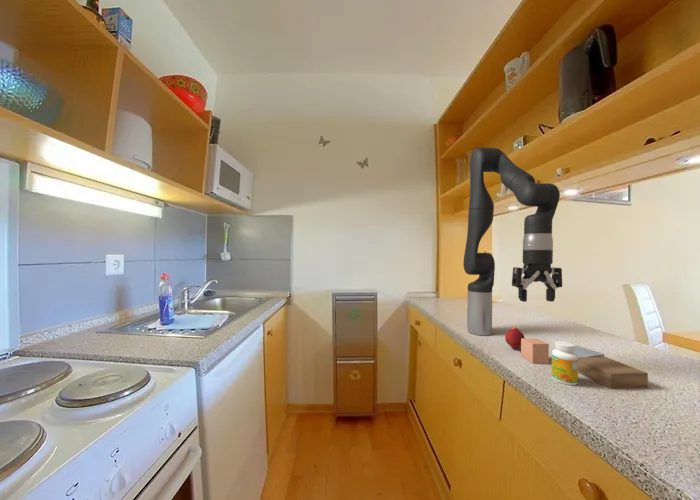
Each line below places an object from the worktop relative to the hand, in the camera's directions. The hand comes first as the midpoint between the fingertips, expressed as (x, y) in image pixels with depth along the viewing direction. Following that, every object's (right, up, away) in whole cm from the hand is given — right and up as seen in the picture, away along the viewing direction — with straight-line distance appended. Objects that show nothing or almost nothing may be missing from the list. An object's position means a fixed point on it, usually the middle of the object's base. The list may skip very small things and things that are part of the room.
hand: (536, 301), depth 81 cm
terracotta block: (0, -19, +1) cm, 19 cm away
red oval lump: (0, -19, +10) cm, 21 cm away
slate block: (+13, -19, -1) cm, 23 cm away
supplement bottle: (-1, -19, -12) cm, 22 cm away
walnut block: (+12, -19, -11) cm, 25 cm away
